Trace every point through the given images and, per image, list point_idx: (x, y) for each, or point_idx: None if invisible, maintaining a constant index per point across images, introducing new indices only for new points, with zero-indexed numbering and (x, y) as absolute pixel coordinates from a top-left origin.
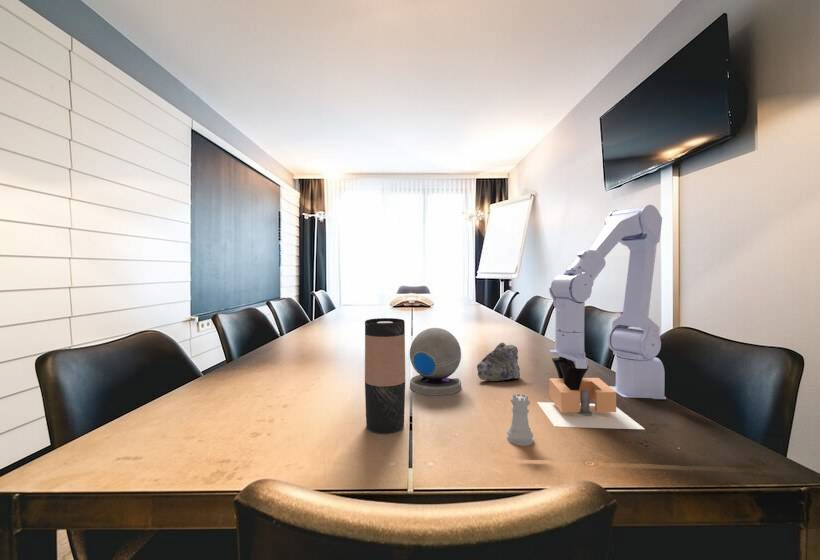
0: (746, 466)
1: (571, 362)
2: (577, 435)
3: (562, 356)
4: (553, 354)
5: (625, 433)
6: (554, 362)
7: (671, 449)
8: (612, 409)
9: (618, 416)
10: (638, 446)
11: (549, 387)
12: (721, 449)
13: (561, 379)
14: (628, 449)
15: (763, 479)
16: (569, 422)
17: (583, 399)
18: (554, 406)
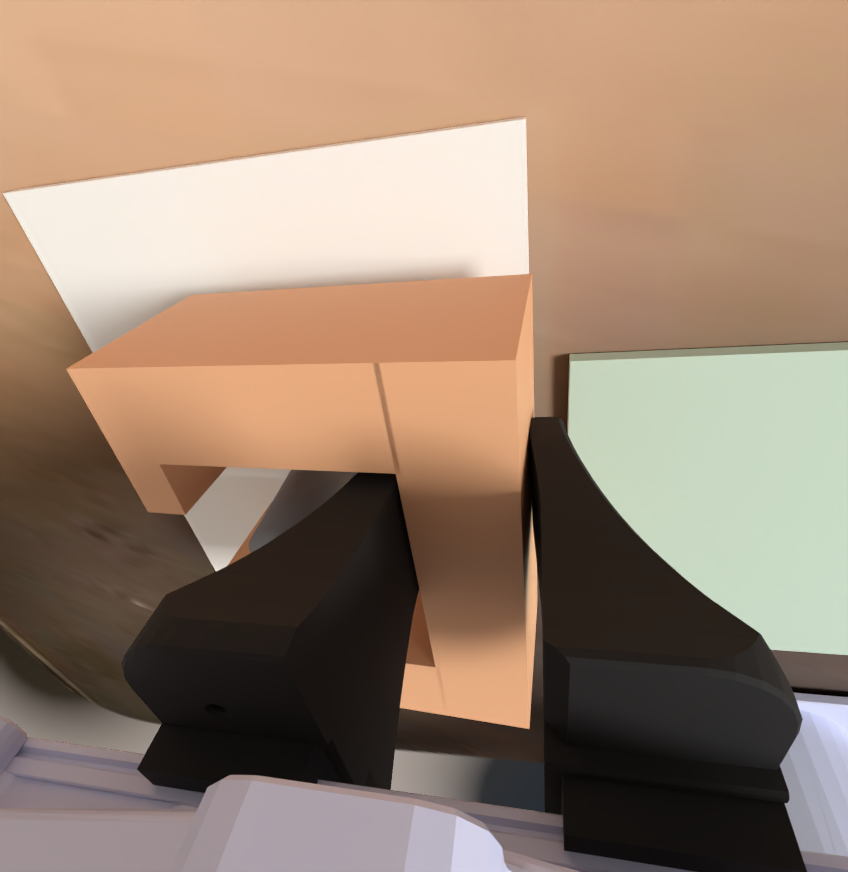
0: (110, 666)
1: (145, 767)
2: (19, 312)
3: (114, 828)
4: (208, 799)
5: (181, 519)
6: (613, 622)
7: (114, 584)
8: None
9: None
10: (72, 511)
11: (504, 311)
12: None
13: (472, 485)
14: (17, 471)
15: (55, 656)
16: (134, 312)
17: (275, 496)
18: (427, 279)
